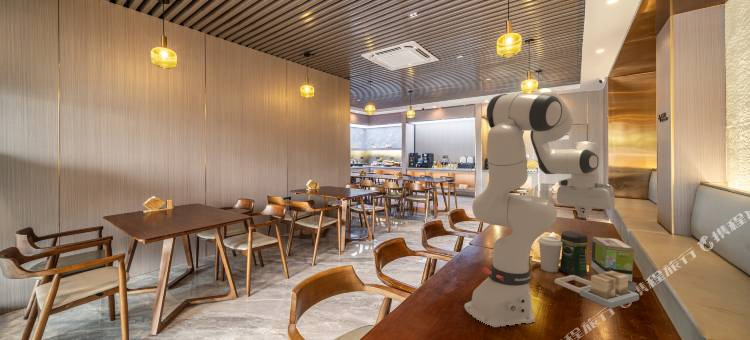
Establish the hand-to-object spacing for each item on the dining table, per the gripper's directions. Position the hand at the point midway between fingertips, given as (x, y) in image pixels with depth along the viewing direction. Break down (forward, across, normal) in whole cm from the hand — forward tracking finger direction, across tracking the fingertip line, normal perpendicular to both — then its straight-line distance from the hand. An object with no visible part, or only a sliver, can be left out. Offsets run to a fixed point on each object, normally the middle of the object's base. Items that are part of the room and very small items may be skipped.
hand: (582, 217), depth 115 cm
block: (+27, -11, -3) cm, 29 cm away
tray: (+28, 0, +2) cm, 28 cm away
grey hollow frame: (+28, -11, +1) cm, 30 cm away
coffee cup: (+28, +16, -4) cm, 32 cm away
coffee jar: (+27, +10, -11) cm, 31 cm away
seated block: (+27, -11, +5) cm, 30 cm away
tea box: (+27, +4, -26) cm, 37 cm away
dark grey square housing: (+28, -8, -11) cm, 31 cm away
